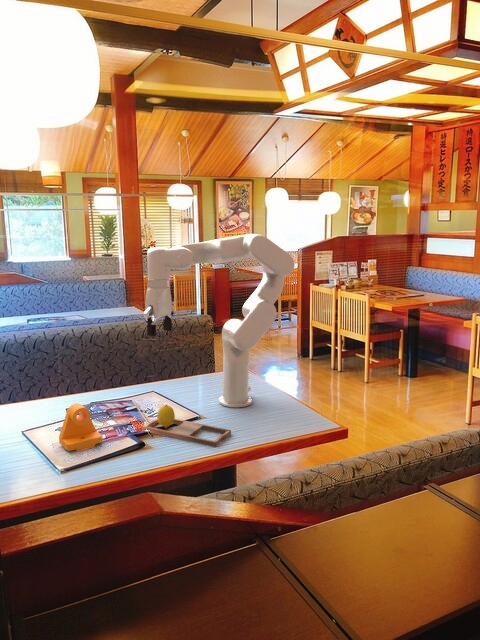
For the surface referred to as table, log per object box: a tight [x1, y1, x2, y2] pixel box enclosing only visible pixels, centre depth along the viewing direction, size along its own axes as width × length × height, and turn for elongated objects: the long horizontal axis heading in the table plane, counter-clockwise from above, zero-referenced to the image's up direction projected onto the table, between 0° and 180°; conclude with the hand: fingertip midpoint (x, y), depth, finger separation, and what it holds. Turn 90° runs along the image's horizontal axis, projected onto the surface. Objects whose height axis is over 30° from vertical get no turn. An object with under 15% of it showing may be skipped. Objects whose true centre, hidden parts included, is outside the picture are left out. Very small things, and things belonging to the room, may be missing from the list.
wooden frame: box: [141, 417, 232, 448], centre depth 163 cm, size 11×27×2 cm, turn 65°
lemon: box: [157, 404, 176, 429], centre depth 166 cm, size 6×6×8 cm
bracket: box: [58, 403, 103, 452], centre depth 153 cm, size 11×7×12 cm, turn 129°
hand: (159, 333), depth 178 cm, fingers open, 9 cm apart
